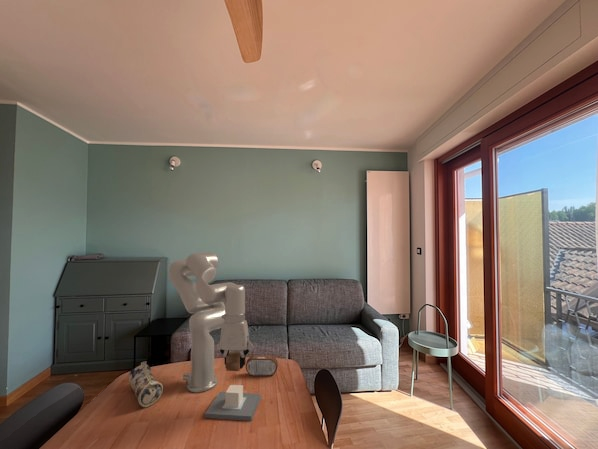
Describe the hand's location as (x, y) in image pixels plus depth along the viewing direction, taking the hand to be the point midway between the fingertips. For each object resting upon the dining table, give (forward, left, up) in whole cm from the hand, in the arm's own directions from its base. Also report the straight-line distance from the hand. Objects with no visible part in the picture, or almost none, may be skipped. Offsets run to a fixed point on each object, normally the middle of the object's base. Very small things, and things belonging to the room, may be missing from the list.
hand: (235, 366), depth 97 cm
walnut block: (0, 0, -1) cm, 1 cm away
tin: (+4, +24, -15) cm, 29 cm away
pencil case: (-39, +4, -16) cm, 43 cm away
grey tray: (0, 0, -15) cm, 15 cm away
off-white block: (0, 0, -13) cm, 13 cm away
